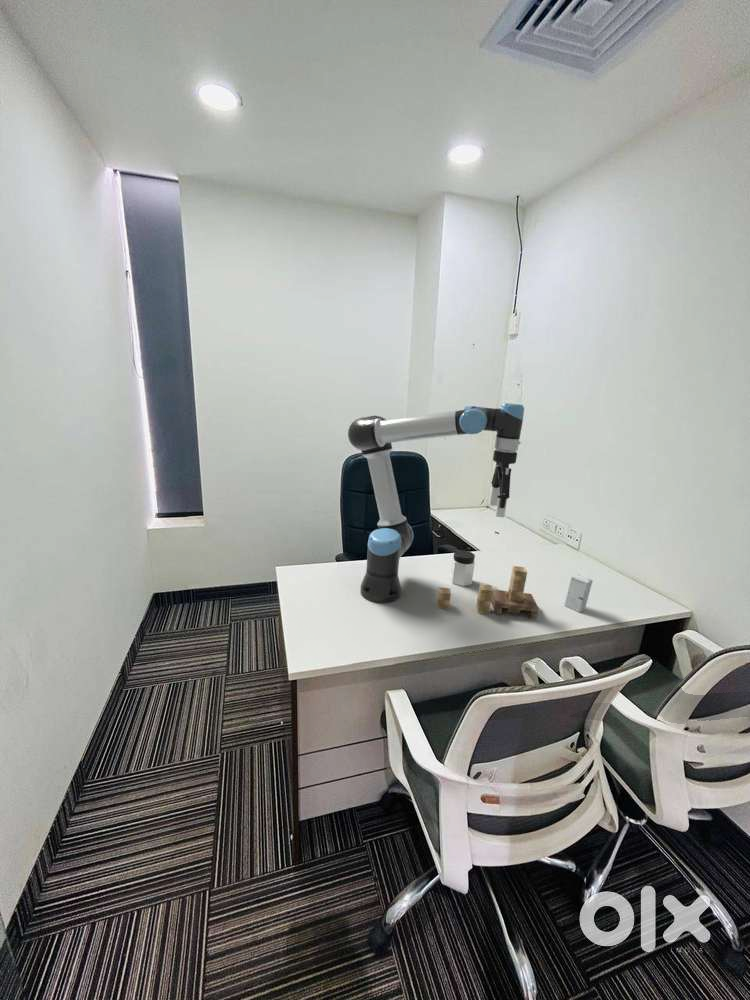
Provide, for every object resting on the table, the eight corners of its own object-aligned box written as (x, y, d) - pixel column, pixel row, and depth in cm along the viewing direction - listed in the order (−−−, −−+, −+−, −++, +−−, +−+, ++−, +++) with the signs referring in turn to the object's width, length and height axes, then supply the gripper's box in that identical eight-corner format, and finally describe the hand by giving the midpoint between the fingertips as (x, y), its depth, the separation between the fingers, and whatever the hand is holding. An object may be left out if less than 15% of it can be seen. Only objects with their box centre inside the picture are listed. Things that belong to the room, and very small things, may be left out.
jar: (448, 575, 172) (452, 549, 168) (468, 576, 172) (472, 550, 168) (452, 586, 163) (456, 558, 160) (473, 587, 163) (477, 559, 160)
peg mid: (477, 612, 145) (481, 589, 143) (476, 606, 149) (479, 584, 146) (489, 613, 145) (493, 590, 142) (487, 608, 148) (491, 585, 146)
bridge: (495, 614, 144) (497, 603, 143) (490, 600, 154) (492, 589, 153) (536, 619, 143) (538, 607, 142) (529, 604, 153) (531, 593, 151)
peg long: (508, 611, 147) (515, 570, 142) (505, 606, 151) (513, 565, 146) (519, 613, 146) (527, 572, 142) (517, 607, 150) (524, 567, 146)
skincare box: (563, 605, 154) (570, 576, 151) (570, 602, 157) (576, 573, 153) (580, 613, 149) (587, 582, 146) (586, 609, 152) (593, 580, 149)
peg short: (437, 607, 146) (439, 592, 145) (437, 602, 150) (439, 587, 148) (448, 609, 146) (450, 593, 144) (448, 603, 150) (450, 588, 148)
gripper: (526, 457, 127) (514, 523, 132) (509, 446, 151) (501, 502, 156) (501, 455, 127) (491, 520, 133) (489, 444, 151) (480, 500, 157)
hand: (496, 510), depth 145 cm, fingers open, 13 cm apart
